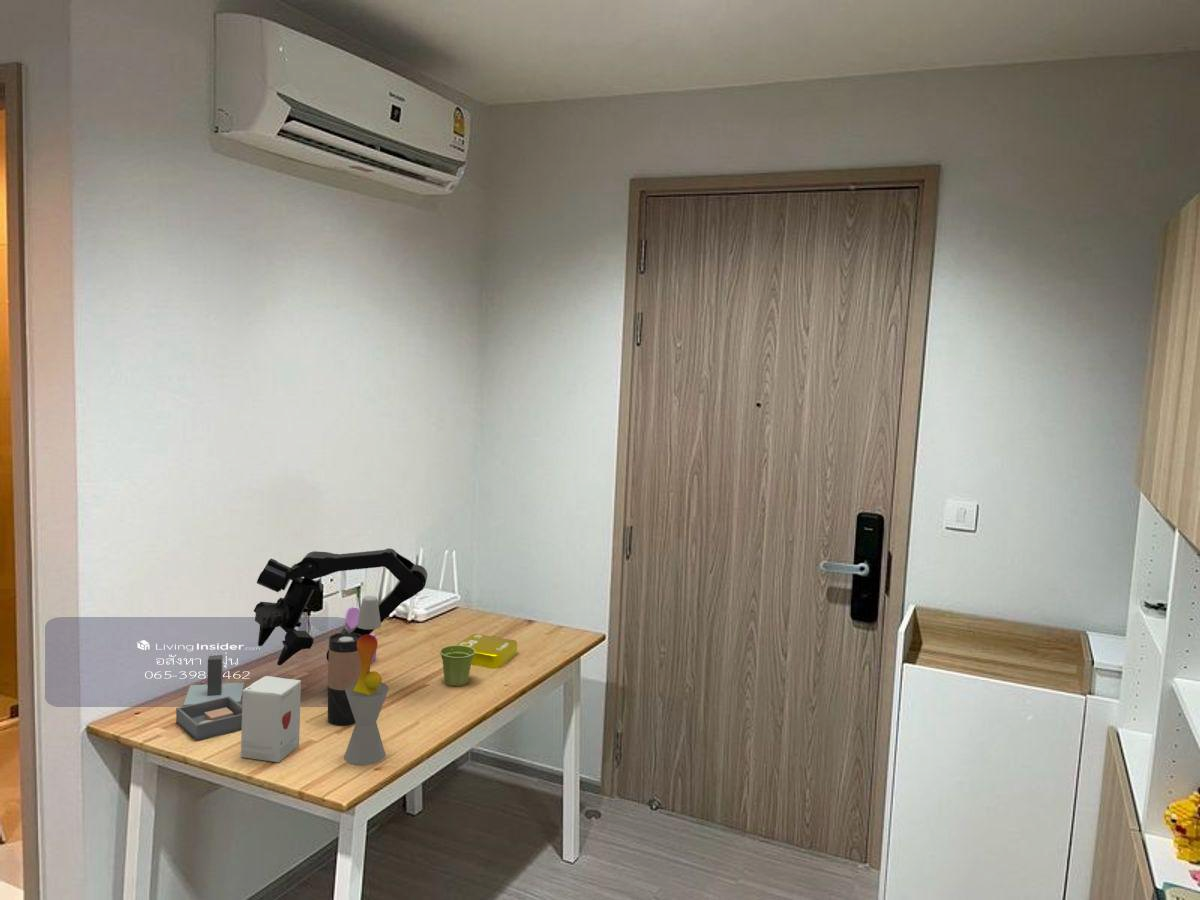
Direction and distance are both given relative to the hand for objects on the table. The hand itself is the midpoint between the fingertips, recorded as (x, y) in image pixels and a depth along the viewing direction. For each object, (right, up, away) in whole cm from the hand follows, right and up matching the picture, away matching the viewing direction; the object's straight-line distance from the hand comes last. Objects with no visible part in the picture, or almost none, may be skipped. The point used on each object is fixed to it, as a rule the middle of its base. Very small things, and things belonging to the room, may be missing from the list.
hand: (269, 655), depth 223 cm
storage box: (-5, -11, -20) cm, 23 cm away
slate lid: (-11, -10, -6) cm, 16 cm away
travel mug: (+22, -12, -13) cm, 28 cm away
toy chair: (+15, -8, +26) cm, 31 cm away
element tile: (+49, -9, +36) cm, 61 cm away
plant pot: (+44, -11, +15) cm, 48 cm away
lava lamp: (+32, -15, -30) cm, 46 cm away
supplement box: (+12, -14, -31) cm, 36 cm away
